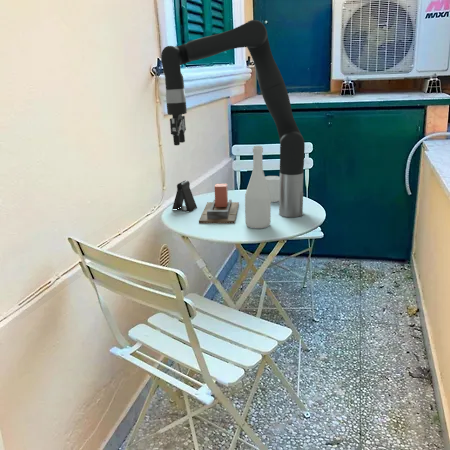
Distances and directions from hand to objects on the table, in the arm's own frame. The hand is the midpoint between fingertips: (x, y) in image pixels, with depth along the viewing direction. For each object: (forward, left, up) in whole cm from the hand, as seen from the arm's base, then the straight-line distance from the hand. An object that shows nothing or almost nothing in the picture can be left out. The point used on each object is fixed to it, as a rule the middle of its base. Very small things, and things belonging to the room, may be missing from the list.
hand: (179, 143), depth 176 cm
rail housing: (-15, 0, -29) cm, 33 cm away
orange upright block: (-15, -7, -28) cm, 32 cm away
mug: (-35, -21, -29) cm, 50 cm away
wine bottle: (-31, +15, -29) cm, 45 cm away
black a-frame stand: (+1, -6, -29) cm, 30 cm away
